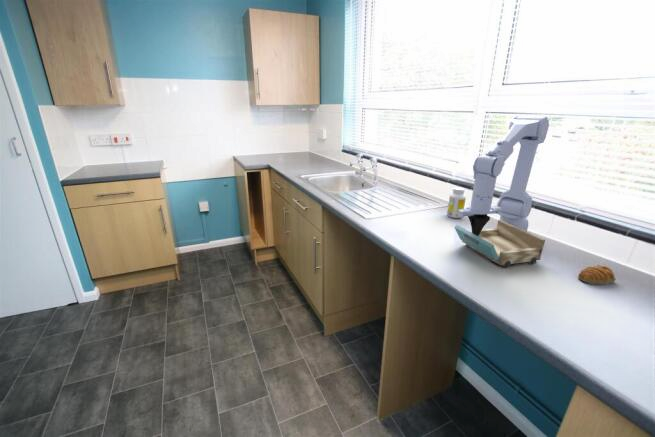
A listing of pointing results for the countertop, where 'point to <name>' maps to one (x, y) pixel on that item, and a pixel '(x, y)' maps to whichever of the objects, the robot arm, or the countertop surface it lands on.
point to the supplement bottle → (456, 202)
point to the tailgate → (477, 242)
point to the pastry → (597, 275)
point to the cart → (512, 244)
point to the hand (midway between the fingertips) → (475, 236)
